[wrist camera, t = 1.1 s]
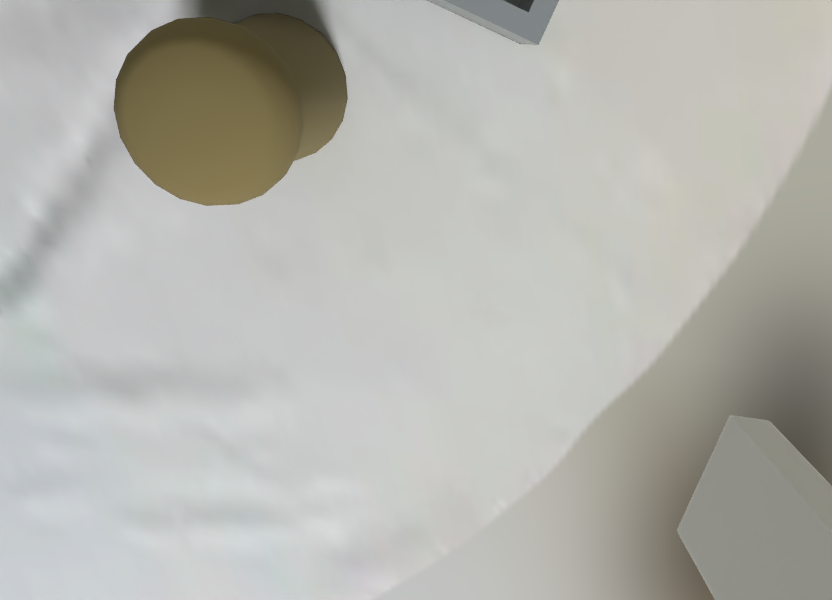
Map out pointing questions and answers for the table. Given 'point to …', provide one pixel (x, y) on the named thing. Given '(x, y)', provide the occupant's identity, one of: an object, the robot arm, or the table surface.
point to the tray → (506, 16)
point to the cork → (228, 104)
